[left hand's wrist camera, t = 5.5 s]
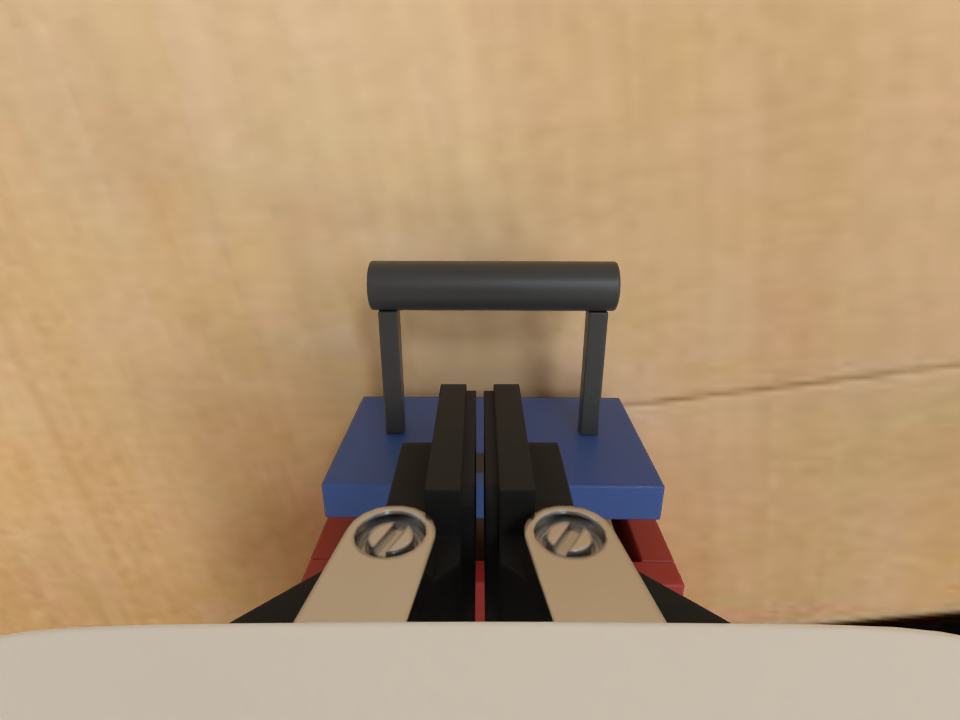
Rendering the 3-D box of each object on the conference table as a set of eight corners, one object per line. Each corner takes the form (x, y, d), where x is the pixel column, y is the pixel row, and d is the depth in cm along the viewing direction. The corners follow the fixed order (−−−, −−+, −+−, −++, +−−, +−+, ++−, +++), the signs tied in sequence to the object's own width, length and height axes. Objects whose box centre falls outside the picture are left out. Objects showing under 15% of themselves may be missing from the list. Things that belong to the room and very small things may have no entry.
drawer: (351, 245, 20) (297, 287, 14) (634, 246, 20) (693, 288, 14) (390, 728, 29) (366, 872, 23) (586, 730, 29) (611, 876, 23)
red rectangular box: (358, 443, 24) (299, 581, 16) (622, 444, 24) (685, 585, 16) (386, 760, 31) (354, 958, 24) (589, 763, 31) (622, 962, 24)
